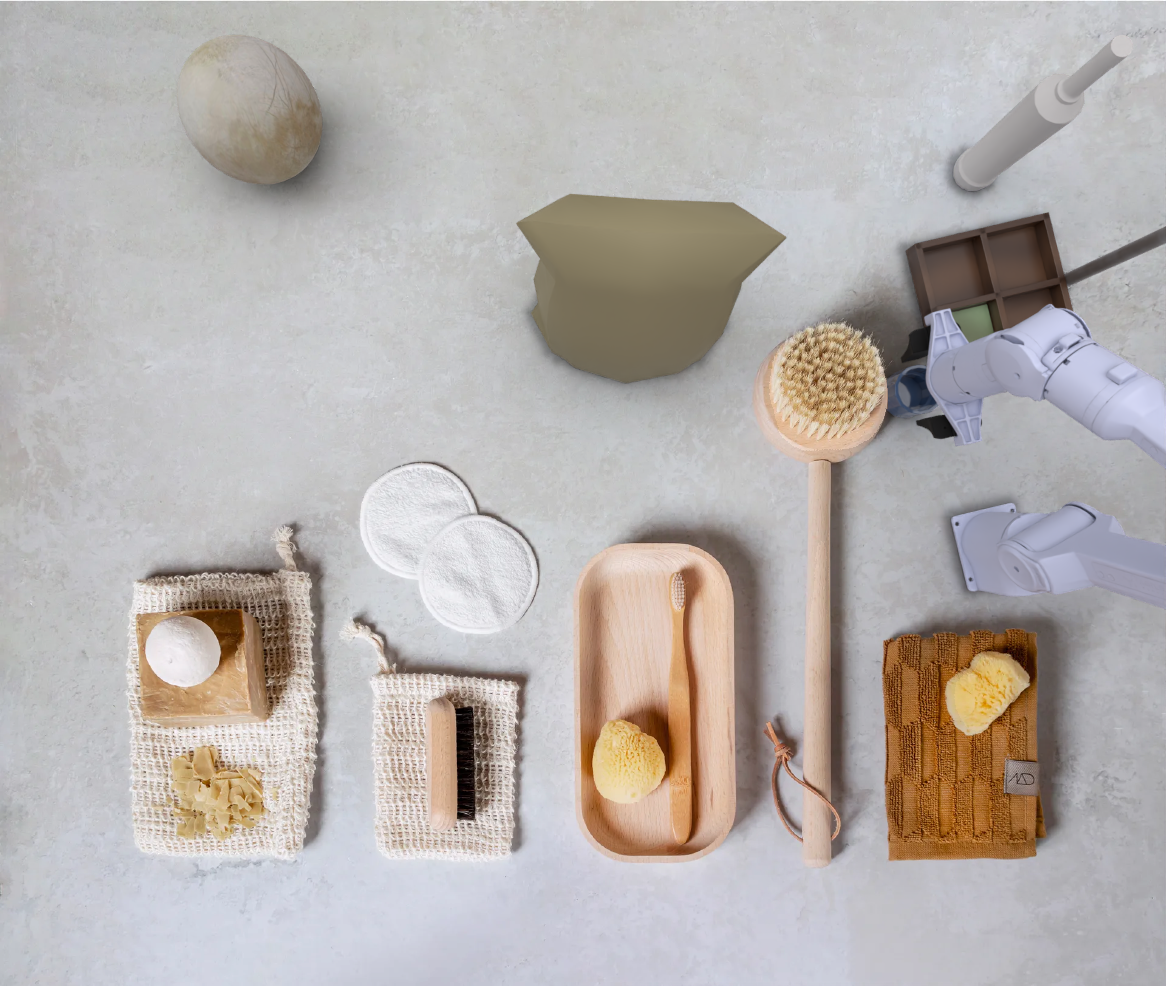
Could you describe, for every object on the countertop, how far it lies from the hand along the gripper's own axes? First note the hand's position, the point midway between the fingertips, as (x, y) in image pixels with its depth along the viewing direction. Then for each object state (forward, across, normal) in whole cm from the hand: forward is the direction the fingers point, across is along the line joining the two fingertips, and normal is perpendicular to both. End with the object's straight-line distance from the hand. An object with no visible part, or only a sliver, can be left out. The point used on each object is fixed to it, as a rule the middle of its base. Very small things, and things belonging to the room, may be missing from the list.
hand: (916, 389), depth 86 cm
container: (+4, +17, +31) cm, 36 cm away
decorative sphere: (+4, +48, +68) cm, 83 cm away
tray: (+4, +9, -14) cm, 17 cm away
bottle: (+4, +25, -15) cm, 29 cm away
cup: (+4, 0, 0) cm, 4 cm away
